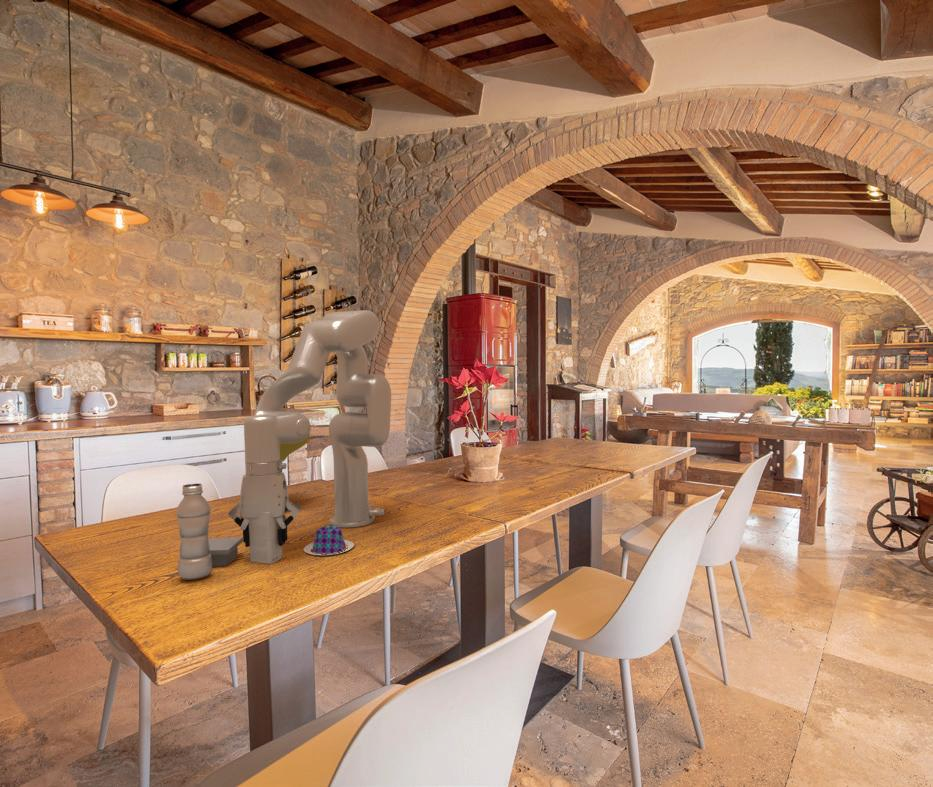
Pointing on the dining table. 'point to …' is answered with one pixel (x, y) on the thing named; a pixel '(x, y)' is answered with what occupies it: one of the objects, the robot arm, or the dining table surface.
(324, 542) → the pudding
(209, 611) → the dining table surface
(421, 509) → the dining table surface
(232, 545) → the stand
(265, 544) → the skincare box
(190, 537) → the plastic bottle
